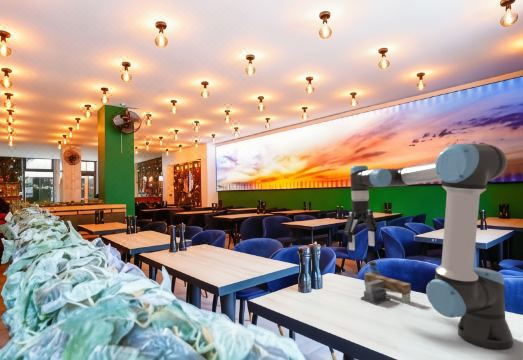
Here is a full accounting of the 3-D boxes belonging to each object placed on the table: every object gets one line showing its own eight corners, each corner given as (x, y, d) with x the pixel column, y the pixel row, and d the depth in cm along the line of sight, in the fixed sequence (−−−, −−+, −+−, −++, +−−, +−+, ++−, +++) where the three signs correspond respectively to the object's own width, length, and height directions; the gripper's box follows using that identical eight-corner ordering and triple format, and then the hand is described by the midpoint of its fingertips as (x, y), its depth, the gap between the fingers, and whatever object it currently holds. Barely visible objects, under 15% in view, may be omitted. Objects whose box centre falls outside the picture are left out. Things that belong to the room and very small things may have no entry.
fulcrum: (390, 299, 143) (389, 282, 144) (375, 304, 138) (374, 286, 138) (375, 294, 150) (374, 277, 150) (360, 299, 145) (360, 281, 145)
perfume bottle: (364, 284, 165) (363, 261, 165) (374, 283, 167) (373, 260, 167) (372, 288, 159) (371, 264, 159) (382, 287, 161) (381, 263, 161)
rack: (410, 302, 140) (410, 293, 140) (406, 303, 138) (405, 294, 138) (369, 288, 159) (369, 280, 159) (365, 290, 157) (365, 282, 157)
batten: (410, 292, 140) (410, 283, 140) (405, 294, 138) (404, 285, 138) (369, 280, 159) (369, 272, 159) (364, 282, 157) (364, 274, 157)
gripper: (370, 198, 153) (372, 243, 152) (334, 201, 139) (336, 250, 138) (384, 199, 146) (386, 245, 146) (347, 202, 132) (349, 253, 132)
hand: (362, 247), depth 142 cm, fingers open, 13 cm apart
